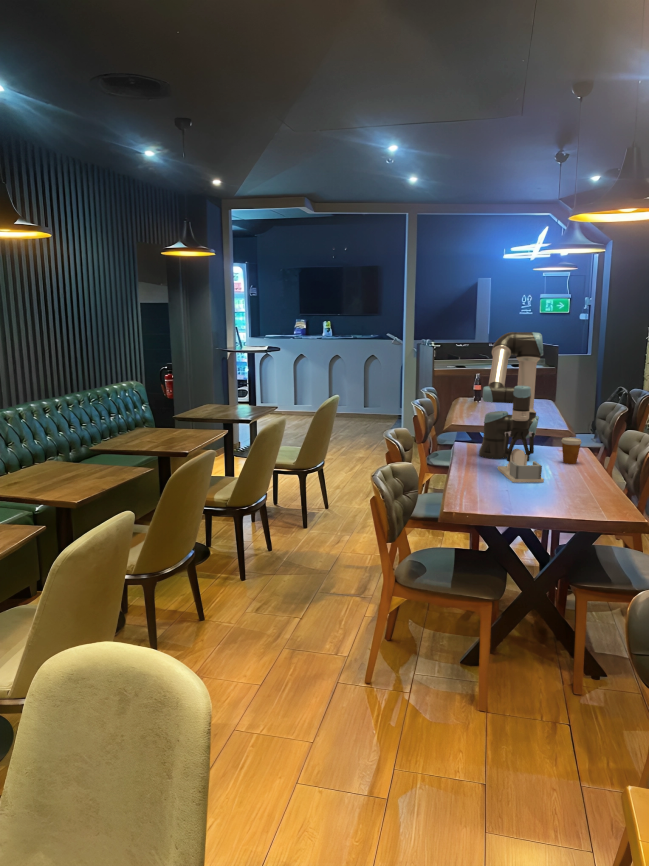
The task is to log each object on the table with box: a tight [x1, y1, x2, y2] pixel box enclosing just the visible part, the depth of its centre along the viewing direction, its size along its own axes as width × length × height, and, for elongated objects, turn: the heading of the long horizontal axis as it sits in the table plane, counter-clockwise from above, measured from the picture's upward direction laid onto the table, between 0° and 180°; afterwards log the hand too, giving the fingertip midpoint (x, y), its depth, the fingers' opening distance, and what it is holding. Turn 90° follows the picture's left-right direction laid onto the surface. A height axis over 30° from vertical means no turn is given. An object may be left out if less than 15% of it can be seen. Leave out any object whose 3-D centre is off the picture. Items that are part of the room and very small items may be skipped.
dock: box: [497, 460, 545, 483], centre depth 287 cm, size 23×14×8 cm, turn 1°
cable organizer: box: [506, 448, 526, 469], centre depth 290 cm, size 5×10×10 cm, turn 15°
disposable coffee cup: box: [560, 436, 583, 465], centre depth 311 cm, size 10×10×12 cm
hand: (517, 468), depth 291 cm, fingers closed on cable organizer, 6 cm apart
